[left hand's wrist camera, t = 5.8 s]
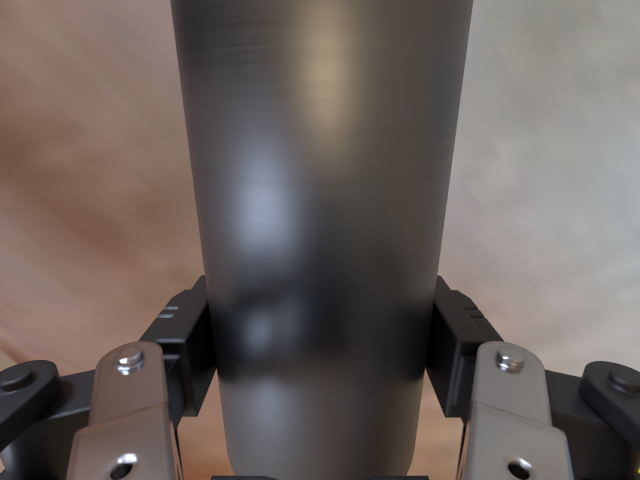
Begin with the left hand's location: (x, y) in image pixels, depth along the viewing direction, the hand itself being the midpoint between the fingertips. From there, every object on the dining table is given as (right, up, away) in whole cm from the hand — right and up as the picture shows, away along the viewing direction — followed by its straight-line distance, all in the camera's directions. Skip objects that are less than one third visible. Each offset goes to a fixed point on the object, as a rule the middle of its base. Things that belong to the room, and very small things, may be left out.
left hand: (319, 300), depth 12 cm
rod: (0, +9, -2) cm, 9 cm away
